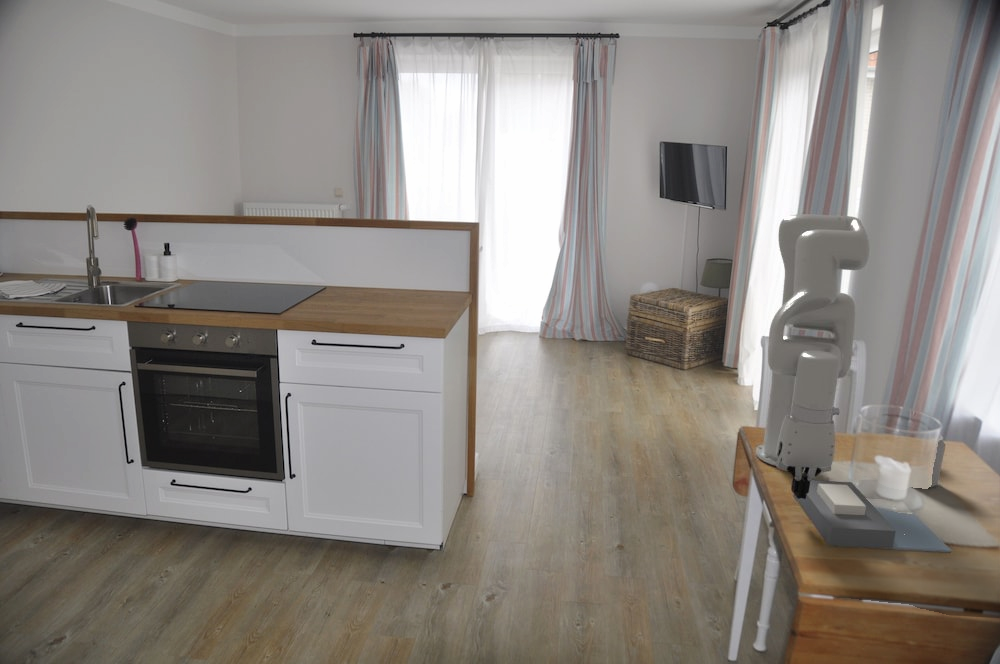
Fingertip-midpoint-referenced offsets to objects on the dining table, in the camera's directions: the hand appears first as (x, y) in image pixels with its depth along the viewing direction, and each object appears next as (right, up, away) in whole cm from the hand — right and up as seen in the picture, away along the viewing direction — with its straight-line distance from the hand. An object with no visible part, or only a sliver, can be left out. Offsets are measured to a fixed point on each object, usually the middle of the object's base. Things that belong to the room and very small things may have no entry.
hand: (799, 495), depth 143 cm
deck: (+9, -5, +1) cm, 10 cm away
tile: (+8, -2, 0) cm, 8 cm away
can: (+36, -1, +19) cm, 41 cm away
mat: (+20, -6, 0) cm, 21 cm away
